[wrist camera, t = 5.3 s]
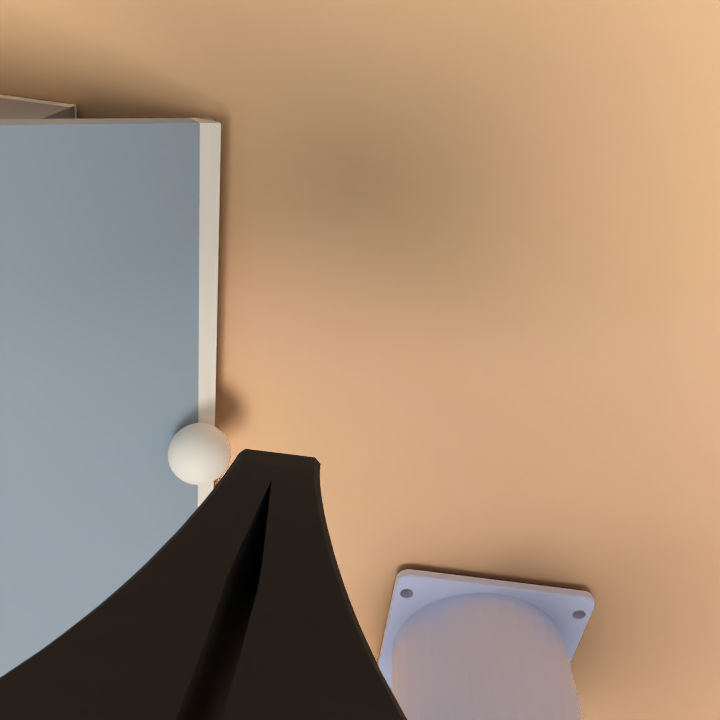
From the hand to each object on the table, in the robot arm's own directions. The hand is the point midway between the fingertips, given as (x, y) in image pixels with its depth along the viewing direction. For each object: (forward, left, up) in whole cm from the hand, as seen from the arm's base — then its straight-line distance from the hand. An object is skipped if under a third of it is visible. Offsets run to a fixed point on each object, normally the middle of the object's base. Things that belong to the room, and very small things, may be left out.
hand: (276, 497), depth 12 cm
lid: (-6, +9, -6) cm, 12 cm away
